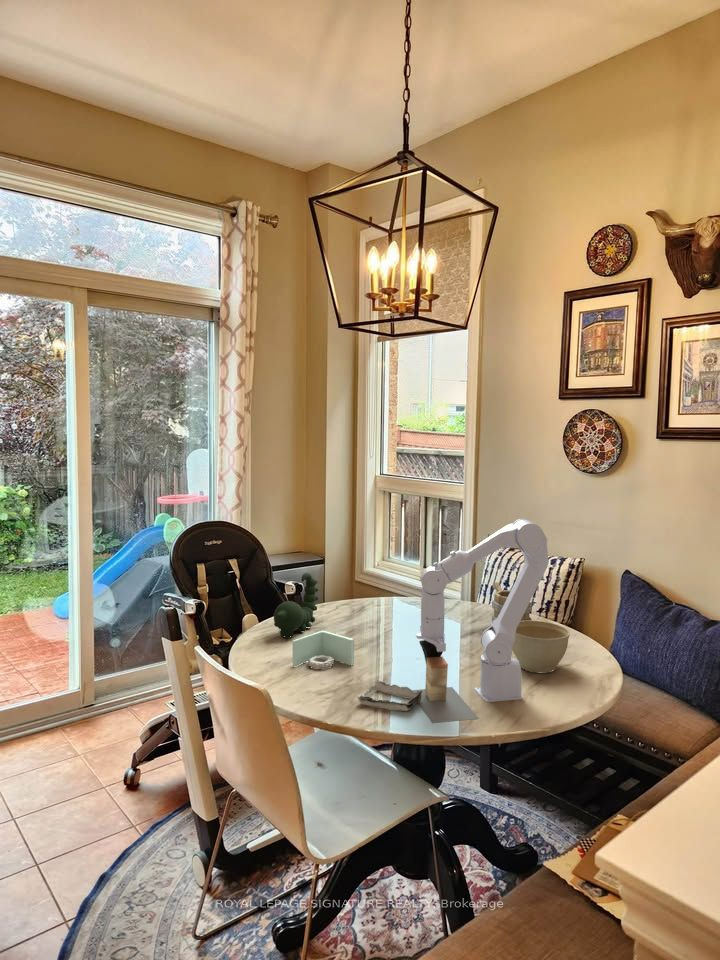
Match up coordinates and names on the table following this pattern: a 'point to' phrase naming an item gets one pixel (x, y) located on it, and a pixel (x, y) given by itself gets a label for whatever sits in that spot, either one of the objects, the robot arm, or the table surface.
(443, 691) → the birch block
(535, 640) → the planter bowl
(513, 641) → the robot arm
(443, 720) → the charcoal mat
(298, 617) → the toy figurine
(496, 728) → the table surface
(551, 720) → the table surface
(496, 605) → the tankard
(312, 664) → the l-shaped corner panel
